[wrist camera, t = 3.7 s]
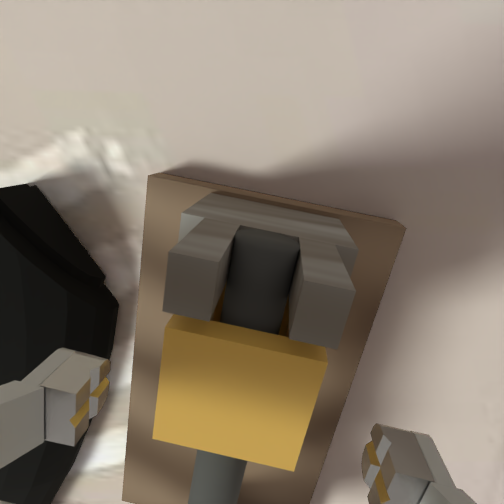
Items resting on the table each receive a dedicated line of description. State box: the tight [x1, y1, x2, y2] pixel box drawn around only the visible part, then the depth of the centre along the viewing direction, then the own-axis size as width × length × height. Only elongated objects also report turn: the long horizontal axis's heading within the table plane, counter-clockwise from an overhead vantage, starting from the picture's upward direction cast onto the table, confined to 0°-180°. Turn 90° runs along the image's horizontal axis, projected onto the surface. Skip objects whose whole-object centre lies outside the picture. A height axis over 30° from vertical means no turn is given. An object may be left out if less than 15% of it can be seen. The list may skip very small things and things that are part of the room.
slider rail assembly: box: [122, 173, 406, 504], centre depth 16 cm, size 22×12×10 cm, turn 169°
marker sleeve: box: [152, 282, 328, 472], centre depth 12 cm, size 4×4×4 cm
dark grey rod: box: [188, 229, 300, 504], centre depth 13 cm, size 18×4×4 cm, turn 169°
